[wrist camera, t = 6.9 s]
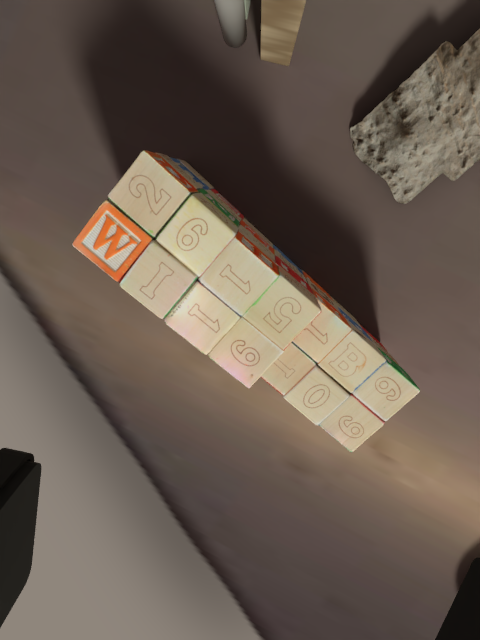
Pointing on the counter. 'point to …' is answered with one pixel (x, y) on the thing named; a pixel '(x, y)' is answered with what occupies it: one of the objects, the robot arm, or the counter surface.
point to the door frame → (279, 29)
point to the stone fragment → (426, 123)
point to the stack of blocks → (241, 298)
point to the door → (233, 20)
